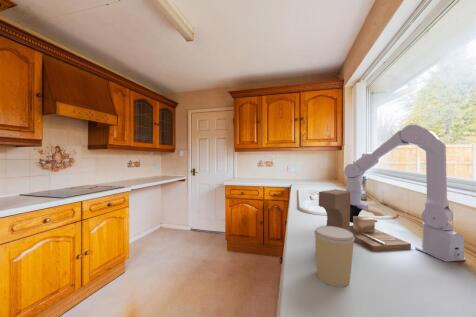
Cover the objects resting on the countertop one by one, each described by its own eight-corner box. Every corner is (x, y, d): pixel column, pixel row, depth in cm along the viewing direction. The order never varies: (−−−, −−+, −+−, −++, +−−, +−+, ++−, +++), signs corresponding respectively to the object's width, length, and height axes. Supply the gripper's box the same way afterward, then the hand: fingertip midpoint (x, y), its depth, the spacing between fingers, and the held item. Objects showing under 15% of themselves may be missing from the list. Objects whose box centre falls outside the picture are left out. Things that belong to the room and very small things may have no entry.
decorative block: (333, 259, 63) (334, 194, 63) (316, 252, 68) (317, 191, 68) (350, 250, 70) (351, 191, 70) (333, 244, 74) (335, 189, 74)
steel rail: (386, 245, 70) (386, 243, 70) (383, 245, 70) (383, 243, 70) (345, 225, 90) (345, 224, 90) (343, 225, 89) (343, 224, 89)
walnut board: (410, 248, 72) (410, 243, 72) (373, 251, 69) (373, 245, 69) (365, 229, 91) (365, 224, 91) (335, 230, 89) (335, 226, 89)
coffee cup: (340, 267, 58) (341, 225, 58) (361, 289, 49) (363, 238, 49) (308, 267, 58) (309, 225, 58) (323, 289, 48) (324, 238, 48)
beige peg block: (380, 231, 83) (381, 219, 83) (361, 232, 82) (361, 219, 82) (371, 227, 88) (371, 215, 88) (352, 228, 86) (353, 216, 86)
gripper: (375, 194, 84) (374, 227, 84) (350, 189, 98) (349, 217, 98) (360, 194, 83) (359, 228, 83) (336, 189, 97) (336, 217, 97)
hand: (352, 222), depth 90 cm, fingers closed
